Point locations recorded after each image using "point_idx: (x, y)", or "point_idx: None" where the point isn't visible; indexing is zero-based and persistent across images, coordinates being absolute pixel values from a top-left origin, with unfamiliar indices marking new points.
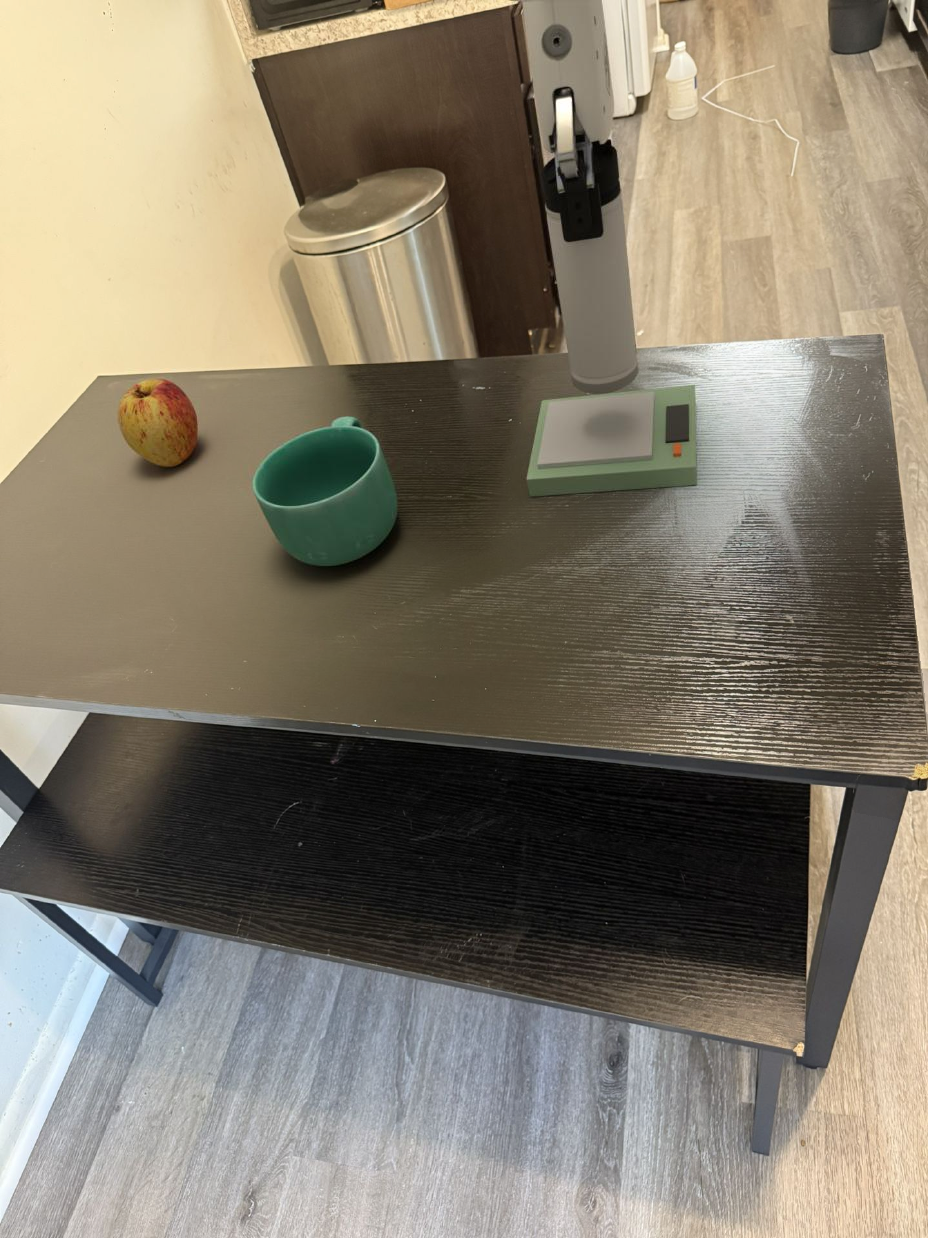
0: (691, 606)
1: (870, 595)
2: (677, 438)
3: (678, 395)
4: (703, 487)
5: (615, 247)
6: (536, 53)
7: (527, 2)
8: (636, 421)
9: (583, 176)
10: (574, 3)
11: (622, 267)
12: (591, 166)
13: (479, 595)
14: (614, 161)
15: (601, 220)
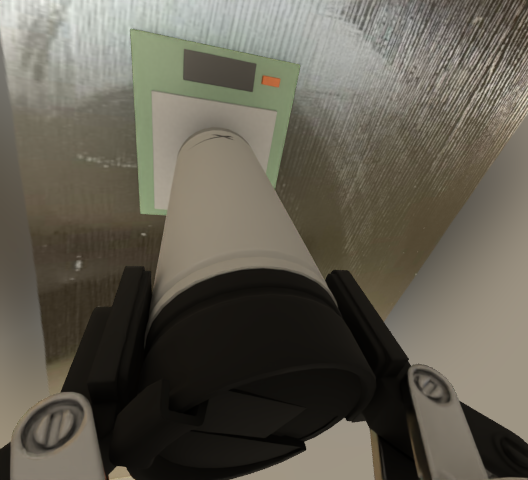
0: (428, 98)
1: None
2: (252, 77)
3: (154, 57)
4: (298, 57)
5: (292, 225)
6: None
7: None
8: (213, 120)
9: (487, 422)
10: None
11: (269, 194)
12: (468, 426)
13: (354, 237)
14: (337, 355)
15: (361, 290)
